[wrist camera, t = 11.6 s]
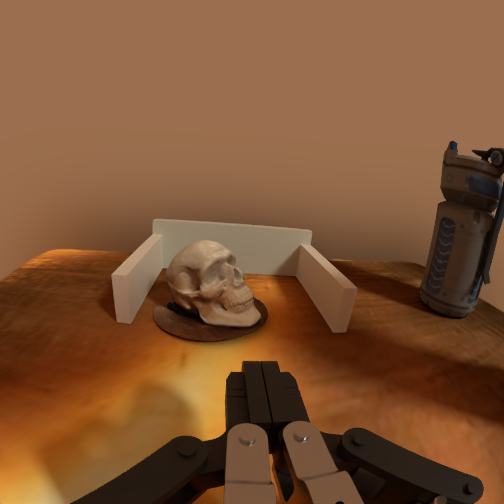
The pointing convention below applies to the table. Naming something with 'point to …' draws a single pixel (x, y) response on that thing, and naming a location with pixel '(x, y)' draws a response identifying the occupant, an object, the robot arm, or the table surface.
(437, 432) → the table surface
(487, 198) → the beverage bottle
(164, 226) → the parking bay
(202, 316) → the skull
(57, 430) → the table surface
